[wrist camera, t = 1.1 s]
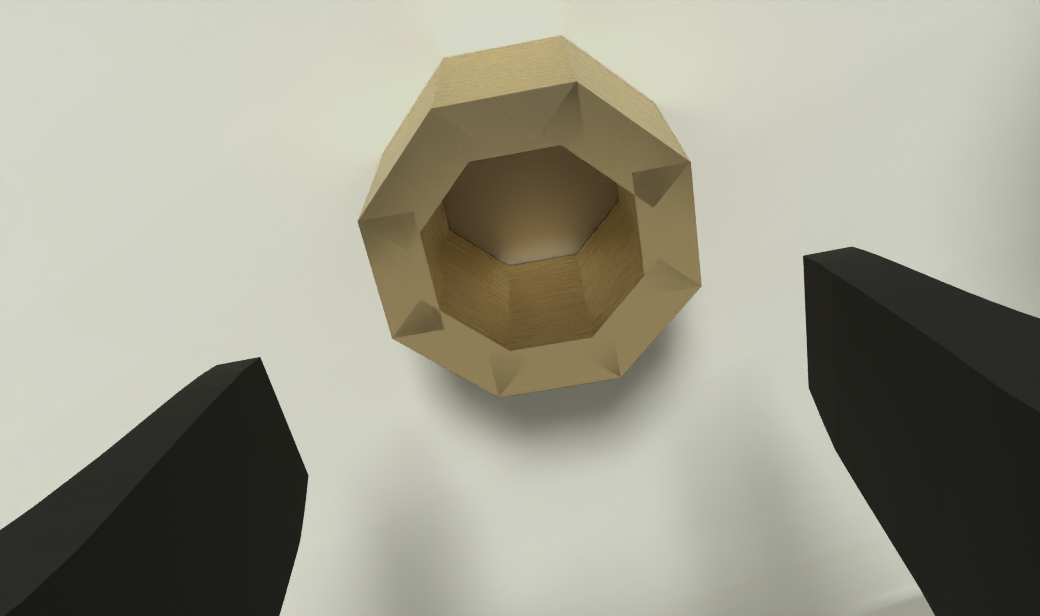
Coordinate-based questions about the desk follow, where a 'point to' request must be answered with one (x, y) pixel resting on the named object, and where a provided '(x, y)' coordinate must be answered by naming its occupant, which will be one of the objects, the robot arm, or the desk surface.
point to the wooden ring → (547, 283)
